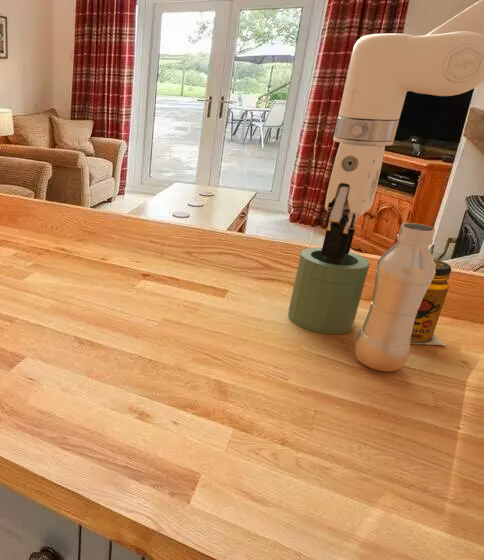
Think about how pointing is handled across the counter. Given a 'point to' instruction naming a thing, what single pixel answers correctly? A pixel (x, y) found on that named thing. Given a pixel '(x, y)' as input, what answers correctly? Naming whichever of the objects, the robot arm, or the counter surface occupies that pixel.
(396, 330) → the plastic bottle
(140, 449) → the counter surface
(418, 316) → the condiment
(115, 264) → the counter surface
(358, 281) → the green hollow cylinder cup
